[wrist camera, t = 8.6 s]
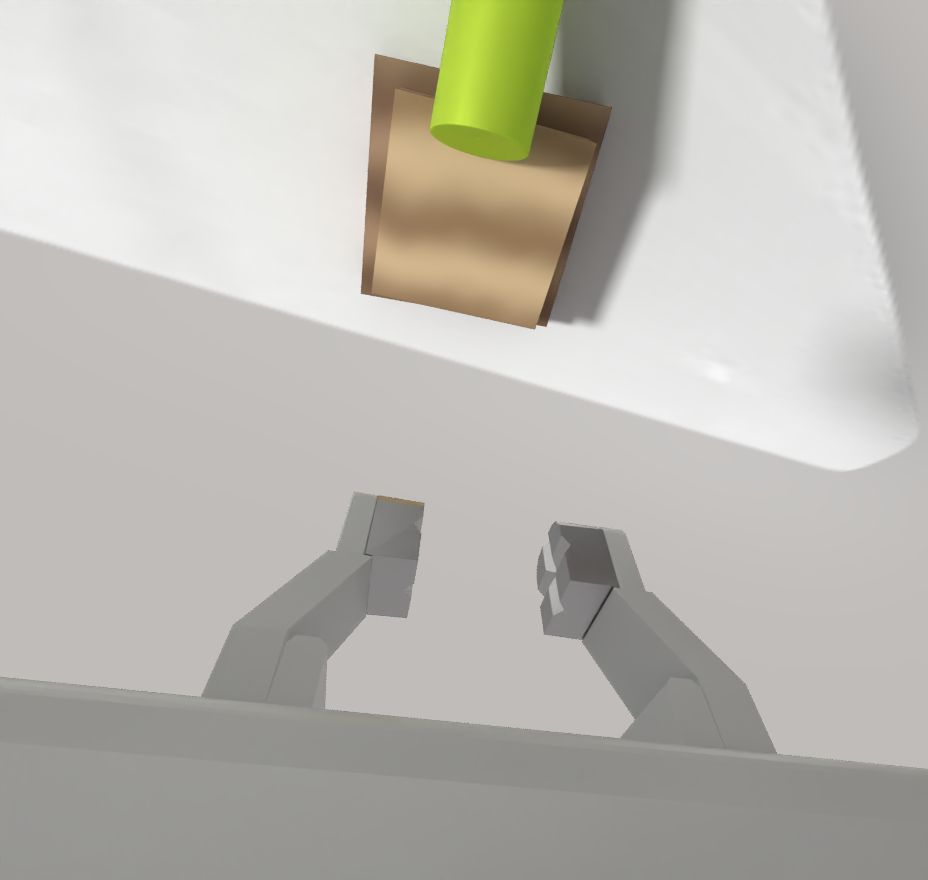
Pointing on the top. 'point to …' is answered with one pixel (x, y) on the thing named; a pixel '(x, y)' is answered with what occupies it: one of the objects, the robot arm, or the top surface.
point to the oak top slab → (474, 218)
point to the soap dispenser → (494, 75)
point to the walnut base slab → (424, 79)
